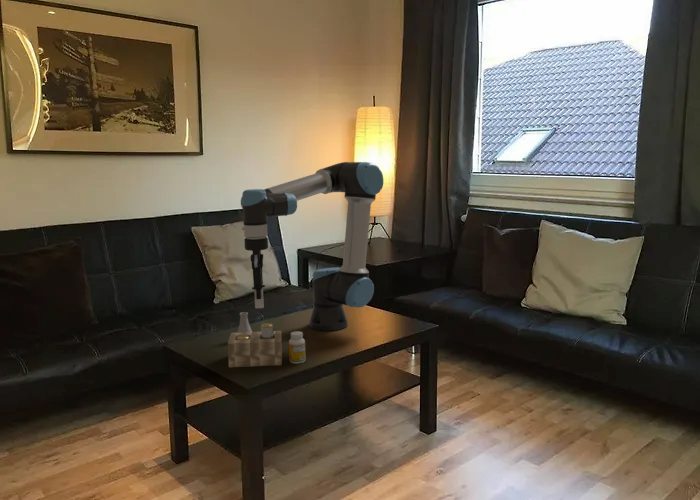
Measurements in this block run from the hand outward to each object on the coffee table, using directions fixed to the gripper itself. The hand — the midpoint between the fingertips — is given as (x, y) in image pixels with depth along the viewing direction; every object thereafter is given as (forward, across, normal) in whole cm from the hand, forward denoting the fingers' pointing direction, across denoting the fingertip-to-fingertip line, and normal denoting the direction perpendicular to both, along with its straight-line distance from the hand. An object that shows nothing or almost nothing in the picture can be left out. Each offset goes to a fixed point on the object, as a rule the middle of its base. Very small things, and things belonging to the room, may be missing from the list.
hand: (259, 307), depth 206 cm
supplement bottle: (+18, +3, +12) cm, 22 cm away
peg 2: (+14, 0, +2) cm, 14 cm away
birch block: (+18, 0, -2) cm, 18 cm away
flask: (+18, -24, -8) cm, 31 cm away
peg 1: (+18, 0, -6) cm, 19 cm away
